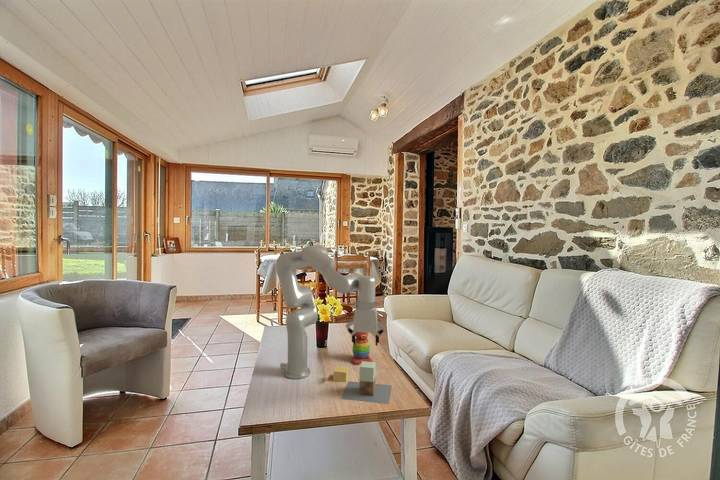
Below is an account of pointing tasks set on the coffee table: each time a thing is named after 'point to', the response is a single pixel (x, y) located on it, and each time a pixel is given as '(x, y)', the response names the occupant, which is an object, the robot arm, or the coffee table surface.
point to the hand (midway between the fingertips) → (365, 344)
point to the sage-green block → (367, 371)
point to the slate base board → (379, 396)
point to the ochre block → (341, 374)
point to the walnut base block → (367, 388)
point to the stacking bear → (361, 349)
